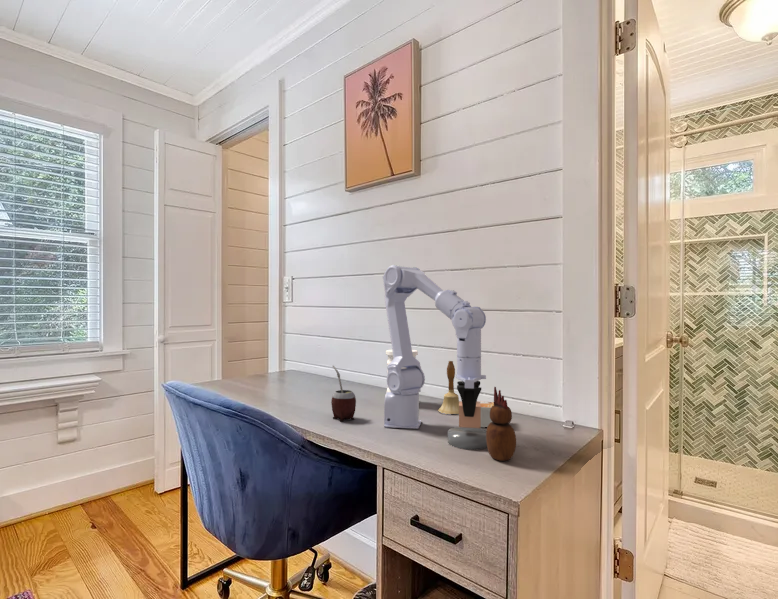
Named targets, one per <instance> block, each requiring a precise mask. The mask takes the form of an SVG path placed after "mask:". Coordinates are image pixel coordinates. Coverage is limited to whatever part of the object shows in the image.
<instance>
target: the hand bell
mask: <svg viewBox="0 0 778 599" xmlns="http://www.w3.org/2000/svg"><path fill="white" fill-rule="evenodd" d="M446 376H447V380H448V387H447V388H448V391H447V393H444V395H443V401H442V404H441V406H440V407H439V409H437V412H438V411H439V412H441V413H445V414H459V401H460V397H459V395H458V394H457V393H456V392H455V388H454V387H455V386H454V383H455V382H454V381H455V380H454V379H455V378H456V369H455V365H454V361H453V360H448V363H447V367H446ZM439 412H438V413H439ZM441 413H440V414H441ZM445 414H444V415H445Z"/></svg>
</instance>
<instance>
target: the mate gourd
mask: <svg viewBox="0 0 778 599" xmlns="http://www.w3.org/2000/svg"><path fill="white" fill-rule="evenodd" d="M332 368H333V369H334V371H335V372H336V377H337V379H338V384H339V388H340V390H339V389H338V390H335V391H334V392H333V394H332V396H331V402H330V403H331V404H330V405H331V410H332V414H333V416H332V419H333V420H339V422H340V423H343V422H344V421H354V420H355V417H354V416H355V413H356V407H357V405H356V404H357V398H356V394H355V392H354V391H353V390H349V389H343V386H342V380H341V374H340V373H339V371H338V369H337V368H336V367H335V365H332Z"/></svg>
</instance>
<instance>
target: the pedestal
mask: <svg viewBox="0 0 778 599" xmlns="http://www.w3.org/2000/svg"><path fill="white" fill-rule="evenodd" d="M486 431H487V429H484V428H482V427H481V428H466V427H459V426H456V427H451V428H449V429H448V430H447V443H449V444H448V445H450V446H451V445H452V446H451V447H453V446H454V448H456V447H458V448H457V449H461V448H463V449H462V450H469V449H473V450H474V449H475V450H476V449H478V450H484V449H488V448H487V441H486Z"/></svg>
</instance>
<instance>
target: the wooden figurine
mask: <svg viewBox="0 0 778 599" xmlns="http://www.w3.org/2000/svg"><path fill="white" fill-rule="evenodd" d="M507 401H508V400H507V399H505V396H504V395H502V390H501V389H498V391H497V386H494V388H493V402H494V406H492V407H491V409H490V419H491V421H492V422H491V423H490V424H489V425H488V427H487V428H486V430H487V431H486V441H487V448H486V449H487V452H488V453H489V456H490V458H492V459H494V460H496V461H499V462H501V461H502V462H503V461H504V462H505V461H509V460H511V459H513V457H514V454H515V452H516V448H517V437H516V432H515V428H513V426H512V425H511V424H510V423H511V422H512V418H513V414H512V409H511V408H510V407H509V406H508V402H507Z"/></svg>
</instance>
